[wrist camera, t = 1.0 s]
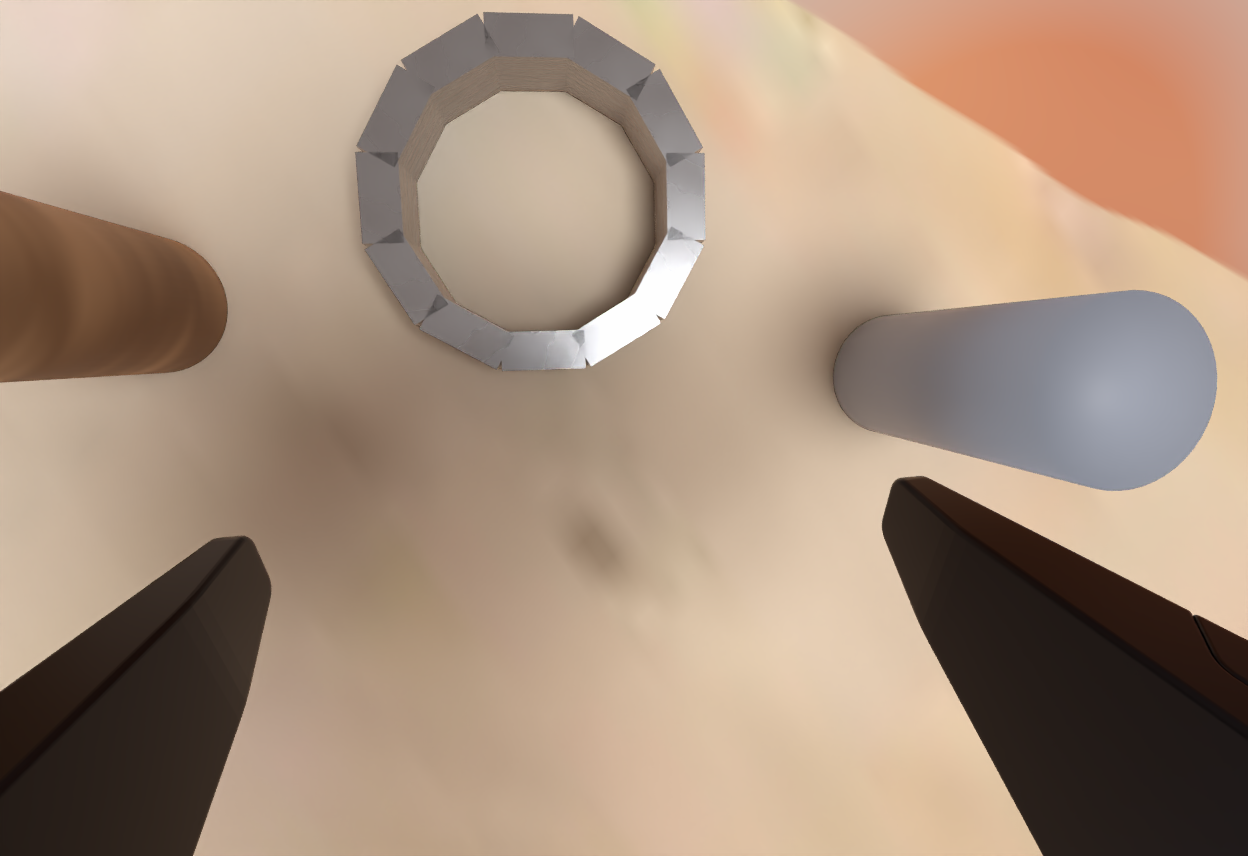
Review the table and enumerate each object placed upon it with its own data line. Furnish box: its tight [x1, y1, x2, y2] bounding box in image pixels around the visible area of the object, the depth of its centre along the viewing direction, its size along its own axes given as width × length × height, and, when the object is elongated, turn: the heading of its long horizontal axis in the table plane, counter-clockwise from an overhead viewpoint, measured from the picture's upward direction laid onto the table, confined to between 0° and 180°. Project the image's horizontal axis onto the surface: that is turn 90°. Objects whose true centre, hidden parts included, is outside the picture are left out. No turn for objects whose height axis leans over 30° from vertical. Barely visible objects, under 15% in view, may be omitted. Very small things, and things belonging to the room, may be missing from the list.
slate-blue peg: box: [833, 290, 1217, 491], centre depth 19 cm, size 4×4×10 cm
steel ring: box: [355, 12, 705, 371], centre depth 20 cm, size 10×10×2 cm
